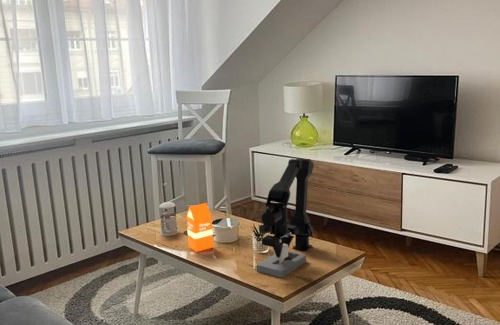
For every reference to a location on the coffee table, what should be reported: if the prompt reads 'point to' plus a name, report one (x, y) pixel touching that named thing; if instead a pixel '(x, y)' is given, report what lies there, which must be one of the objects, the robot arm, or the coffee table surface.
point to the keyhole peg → (282, 254)
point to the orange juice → (199, 227)
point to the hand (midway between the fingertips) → (281, 255)
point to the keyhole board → (281, 265)
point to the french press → (168, 219)
